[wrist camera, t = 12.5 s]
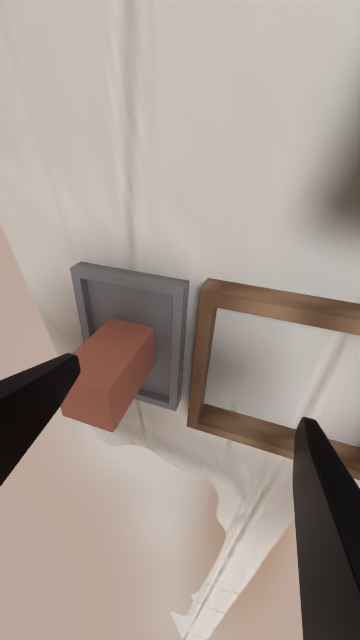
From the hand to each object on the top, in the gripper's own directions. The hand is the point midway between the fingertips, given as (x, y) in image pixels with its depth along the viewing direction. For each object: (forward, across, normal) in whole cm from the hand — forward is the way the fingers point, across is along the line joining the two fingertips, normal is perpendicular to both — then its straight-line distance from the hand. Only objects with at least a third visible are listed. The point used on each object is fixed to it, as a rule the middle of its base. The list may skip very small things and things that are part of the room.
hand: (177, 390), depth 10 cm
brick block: (+11, +8, +8) cm, 16 cm away
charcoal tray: (+12, +8, +8) cm, 16 cm away
